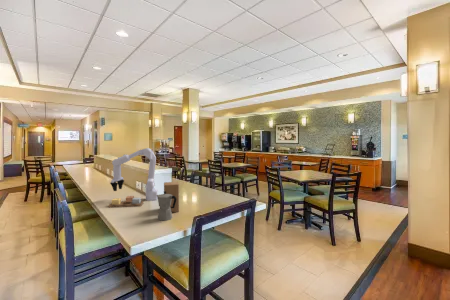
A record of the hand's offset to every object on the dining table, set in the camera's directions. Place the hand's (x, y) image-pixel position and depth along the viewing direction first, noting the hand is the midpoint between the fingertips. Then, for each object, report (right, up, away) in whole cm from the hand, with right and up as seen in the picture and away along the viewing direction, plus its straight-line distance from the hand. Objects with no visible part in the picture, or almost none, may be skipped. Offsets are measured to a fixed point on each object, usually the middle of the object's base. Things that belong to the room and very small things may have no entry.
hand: (117, 189), depth 184 cm
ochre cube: (+5, -10, -13) cm, 17 cm away
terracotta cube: (+11, -10, -2) cm, 15 cm away
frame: (+12, -11, -12) cm, 20 cm away
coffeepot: (+50, -12, -38) cm, 64 cm away
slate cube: (+20, -10, -11) cm, 25 cm away
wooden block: (+49, -11, -22) cm, 55 cm away
